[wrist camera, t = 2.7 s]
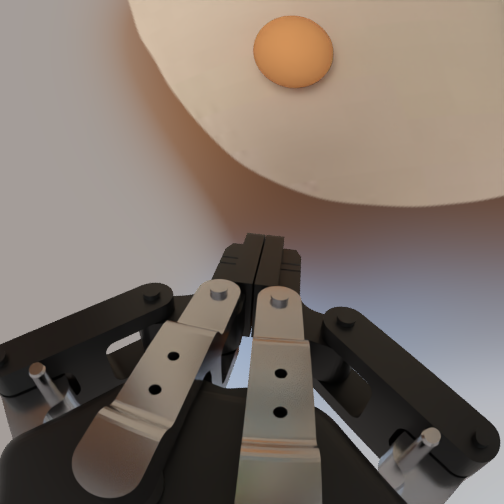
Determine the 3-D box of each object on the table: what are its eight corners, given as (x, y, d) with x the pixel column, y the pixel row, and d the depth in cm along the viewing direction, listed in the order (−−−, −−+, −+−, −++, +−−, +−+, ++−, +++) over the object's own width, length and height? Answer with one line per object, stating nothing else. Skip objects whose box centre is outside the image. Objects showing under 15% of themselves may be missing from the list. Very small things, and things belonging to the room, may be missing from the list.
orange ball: (331, 28, 21) (338, 11, 15) (327, 92, 24) (334, 91, 18) (260, 23, 21) (249, 5, 16) (257, 86, 24) (245, 84, 19)
